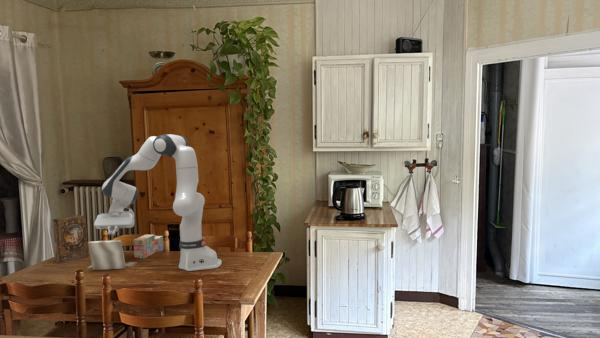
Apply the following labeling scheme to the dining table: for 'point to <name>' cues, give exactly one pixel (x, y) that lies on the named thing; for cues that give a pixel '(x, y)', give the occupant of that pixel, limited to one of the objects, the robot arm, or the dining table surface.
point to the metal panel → (106, 254)
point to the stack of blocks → (147, 245)
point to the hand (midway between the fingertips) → (111, 234)
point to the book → (70, 238)
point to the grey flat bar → (128, 264)
